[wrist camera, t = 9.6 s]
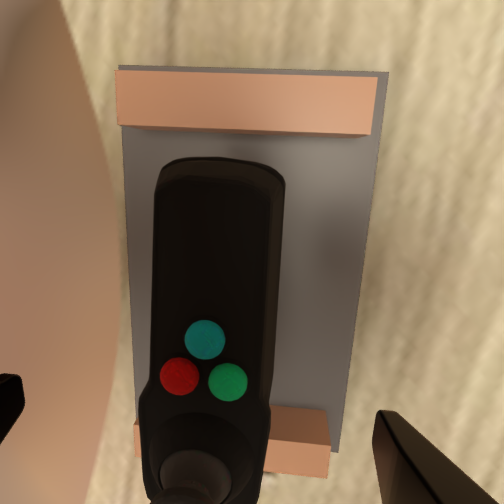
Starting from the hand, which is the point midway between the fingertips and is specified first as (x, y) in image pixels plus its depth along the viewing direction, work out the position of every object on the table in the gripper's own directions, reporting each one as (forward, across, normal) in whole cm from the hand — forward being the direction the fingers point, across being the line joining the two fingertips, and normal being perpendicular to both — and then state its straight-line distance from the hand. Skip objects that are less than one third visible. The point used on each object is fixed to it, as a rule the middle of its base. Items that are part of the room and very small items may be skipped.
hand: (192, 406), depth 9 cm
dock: (+11, 0, 0) cm, 11 cm away
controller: (+10, 0, 0) cm, 10 cm away
